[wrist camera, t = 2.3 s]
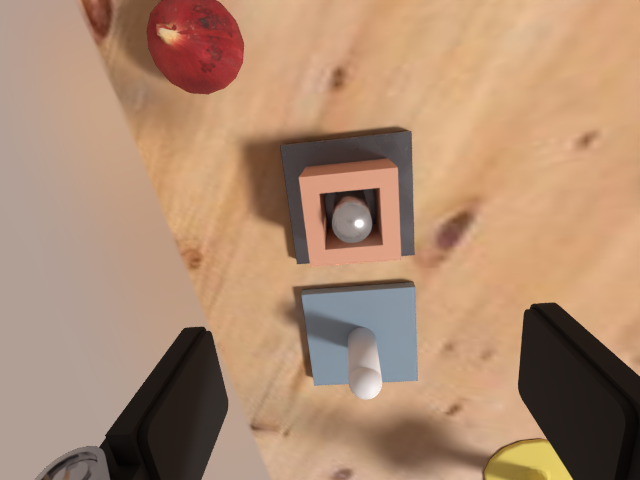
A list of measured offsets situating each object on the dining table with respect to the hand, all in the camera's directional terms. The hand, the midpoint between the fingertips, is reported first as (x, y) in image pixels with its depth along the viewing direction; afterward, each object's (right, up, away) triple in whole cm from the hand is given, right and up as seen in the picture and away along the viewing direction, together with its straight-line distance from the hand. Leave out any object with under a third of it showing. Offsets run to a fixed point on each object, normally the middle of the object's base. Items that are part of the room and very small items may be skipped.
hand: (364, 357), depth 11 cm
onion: (-9, +17, +16) cm, 26 cm away
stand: (+1, +7, +19) cm, 20 cm away
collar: (+1, +7, +18) cm, 19 cm away
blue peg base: (+3, -5, +23) cm, 24 cm away
